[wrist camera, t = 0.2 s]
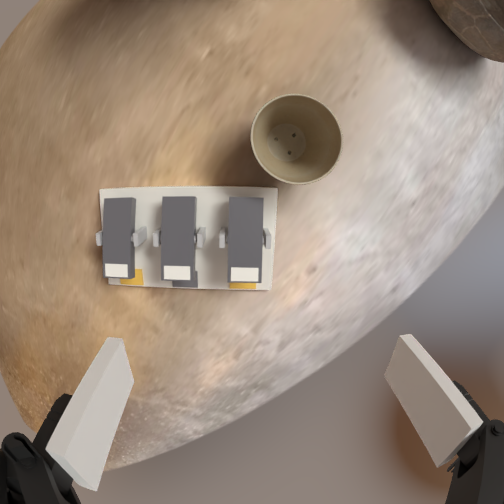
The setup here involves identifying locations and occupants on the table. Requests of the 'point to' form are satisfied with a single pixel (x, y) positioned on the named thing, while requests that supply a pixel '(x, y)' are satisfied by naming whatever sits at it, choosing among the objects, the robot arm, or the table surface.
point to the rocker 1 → (119, 238)
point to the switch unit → (207, 230)
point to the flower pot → (296, 139)
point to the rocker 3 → (245, 240)
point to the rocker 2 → (178, 238)
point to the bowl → (475, 24)
